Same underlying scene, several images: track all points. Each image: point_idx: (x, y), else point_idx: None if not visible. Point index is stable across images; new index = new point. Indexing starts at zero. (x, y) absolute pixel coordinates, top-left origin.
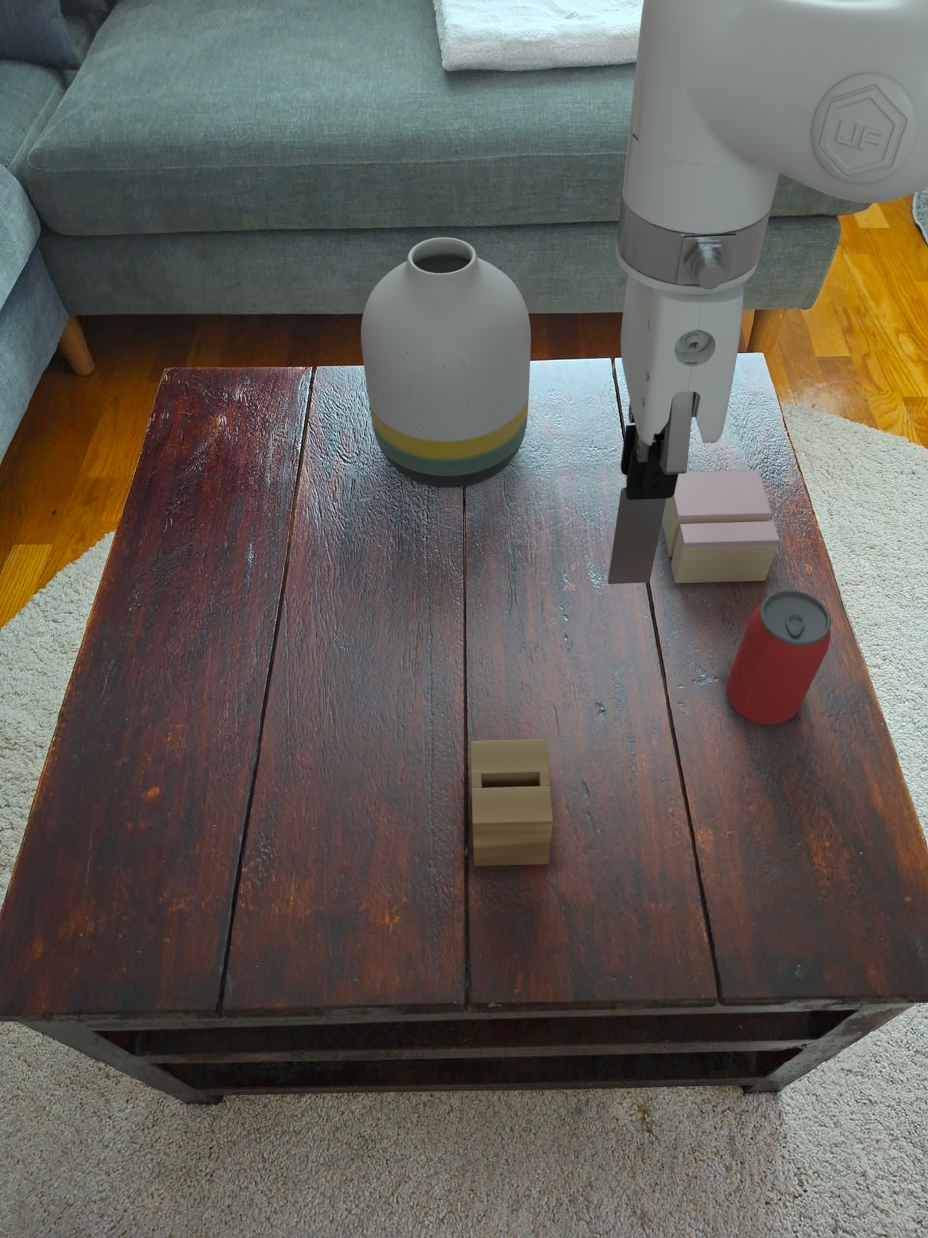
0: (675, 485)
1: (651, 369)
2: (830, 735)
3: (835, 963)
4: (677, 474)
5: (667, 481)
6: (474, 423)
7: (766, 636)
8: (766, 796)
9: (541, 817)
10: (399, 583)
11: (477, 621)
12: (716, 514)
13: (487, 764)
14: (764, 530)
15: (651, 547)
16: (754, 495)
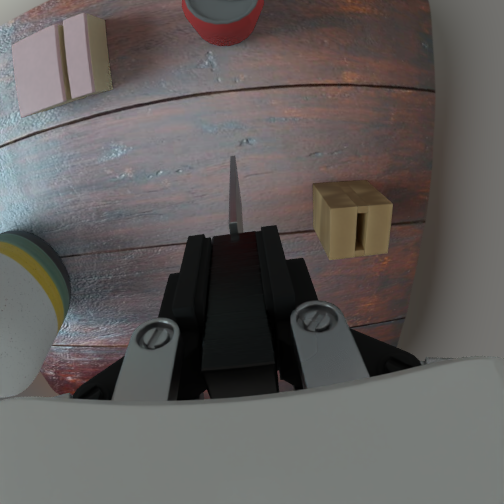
0: (278, 237)
1: None
2: None
3: (420, 24)
4: (283, 255)
5: (309, 277)
6: (34, 294)
7: (243, 19)
8: (316, 29)
9: (390, 211)
10: (151, 287)
11: (173, 236)
12: (58, 69)
13: (348, 247)
14: (73, 26)
15: (236, 180)
16: (36, 41)
